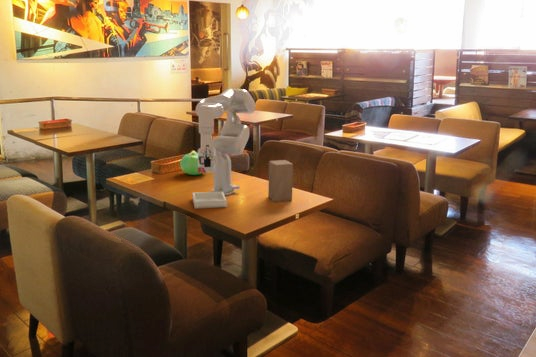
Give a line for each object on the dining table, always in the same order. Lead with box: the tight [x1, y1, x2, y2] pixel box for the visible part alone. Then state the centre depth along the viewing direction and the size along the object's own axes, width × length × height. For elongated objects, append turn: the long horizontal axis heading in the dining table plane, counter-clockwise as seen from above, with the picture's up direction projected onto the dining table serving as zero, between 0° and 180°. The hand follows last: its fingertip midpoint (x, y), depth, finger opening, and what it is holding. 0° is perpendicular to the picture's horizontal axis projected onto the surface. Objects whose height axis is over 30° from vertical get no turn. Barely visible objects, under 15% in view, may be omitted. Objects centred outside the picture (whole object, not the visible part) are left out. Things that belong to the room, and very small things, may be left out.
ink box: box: [197, 147, 216, 174], centre depth 254 cm, size 9×5×12 cm, turn 90°
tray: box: [192, 191, 228, 209], centre depth 259 cm, size 16×16×4 cm
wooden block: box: [267, 159, 294, 203], centre depth 267 cm, size 10×10×20 cm
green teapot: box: [179, 150, 203, 176], centre depth 314 cm, size 18×17×15 cm
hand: (206, 165), depth 254 cm, fingers closed on ink box, 5 cm apart
